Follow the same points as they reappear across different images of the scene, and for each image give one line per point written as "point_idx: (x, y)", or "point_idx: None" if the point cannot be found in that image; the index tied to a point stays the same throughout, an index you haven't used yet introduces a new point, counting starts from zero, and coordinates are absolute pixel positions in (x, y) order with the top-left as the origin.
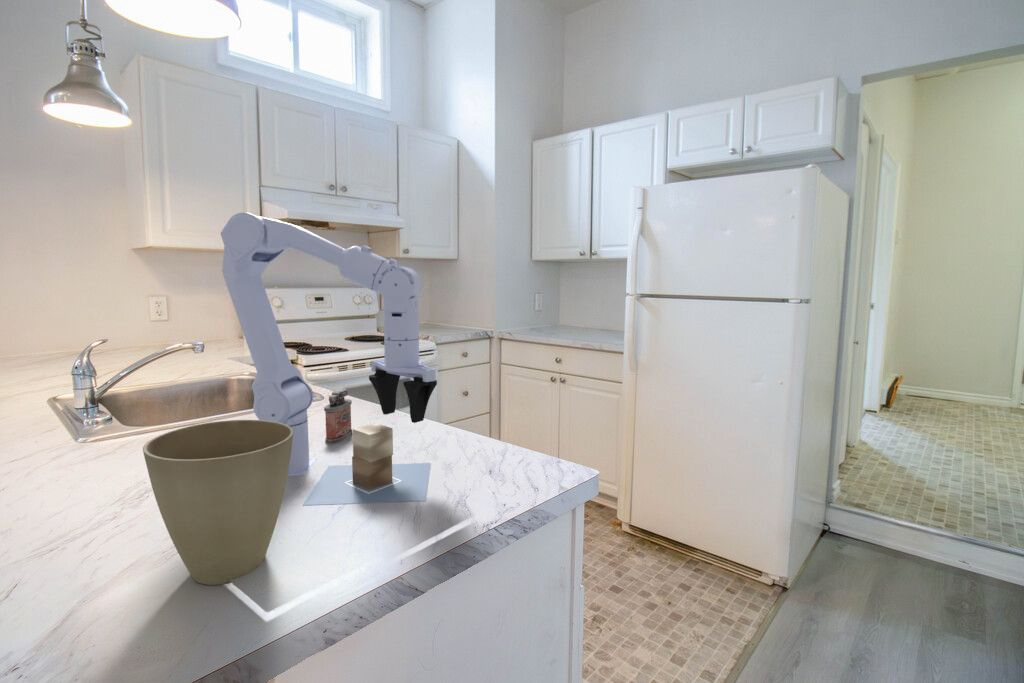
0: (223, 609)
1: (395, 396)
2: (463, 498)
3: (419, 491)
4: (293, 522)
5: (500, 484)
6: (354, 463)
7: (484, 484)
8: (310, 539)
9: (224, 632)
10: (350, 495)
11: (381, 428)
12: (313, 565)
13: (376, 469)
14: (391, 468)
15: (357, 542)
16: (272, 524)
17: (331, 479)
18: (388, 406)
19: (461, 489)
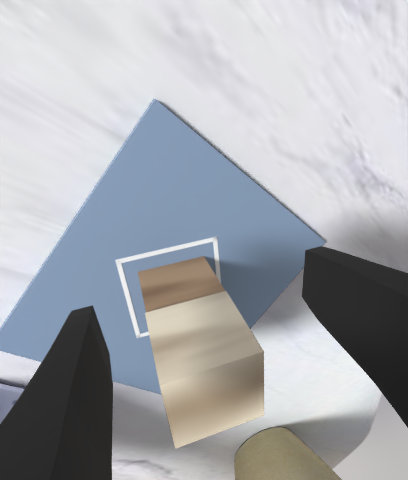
0: (318, 442)
1: (75, 374)
2: (359, 165)
3: (287, 232)
4: None
5: (390, 33)
6: None
7: (358, 69)
8: (274, 390)
9: (342, 438)
10: None
11: (237, 379)
12: (322, 390)
13: None
14: (214, 275)
15: (323, 350)
16: (331, 470)
17: None
18: (102, 370)
19: (331, 138)
